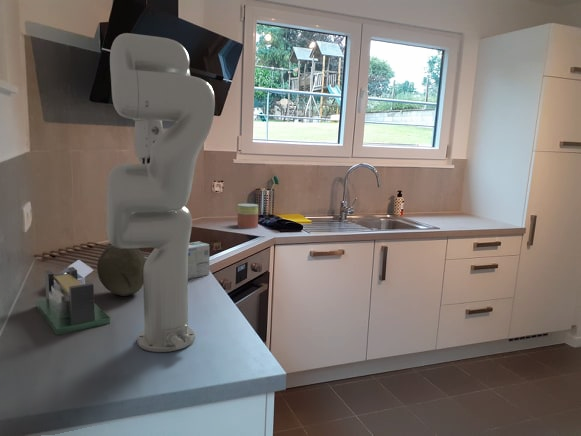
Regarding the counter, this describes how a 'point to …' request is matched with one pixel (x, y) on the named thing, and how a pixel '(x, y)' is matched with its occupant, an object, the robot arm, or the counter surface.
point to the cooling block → (70, 306)
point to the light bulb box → (198, 259)
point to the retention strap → (66, 281)
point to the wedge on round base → (81, 272)
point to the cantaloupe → (121, 270)
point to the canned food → (247, 216)
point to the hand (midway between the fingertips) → (148, 183)
